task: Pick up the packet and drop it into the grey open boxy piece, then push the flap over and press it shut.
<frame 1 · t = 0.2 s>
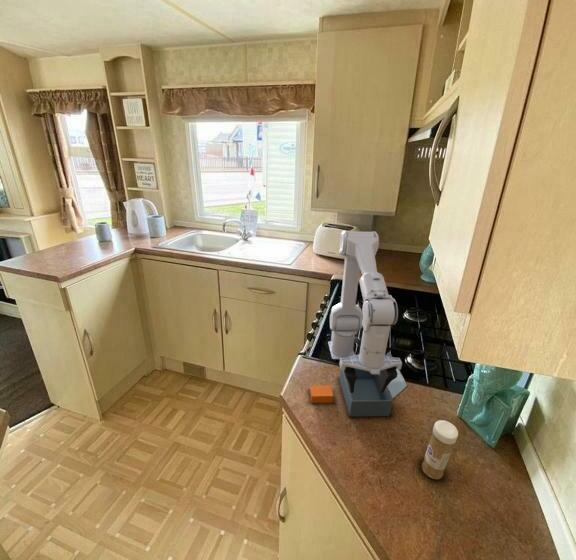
hand: (365, 389, 78), 10 cm above the worktop, tool pointing down, fingers open, 7 cm apart
sprinkles bottle: (432, 471, 70), on the worktop
packet: (321, 397, 89), on the worktop
flap: (391, 373, 86), point 8 cm above the worktop, hinge at 125.0°
grey open boxy piece: (362, 396, 90), on the worktop
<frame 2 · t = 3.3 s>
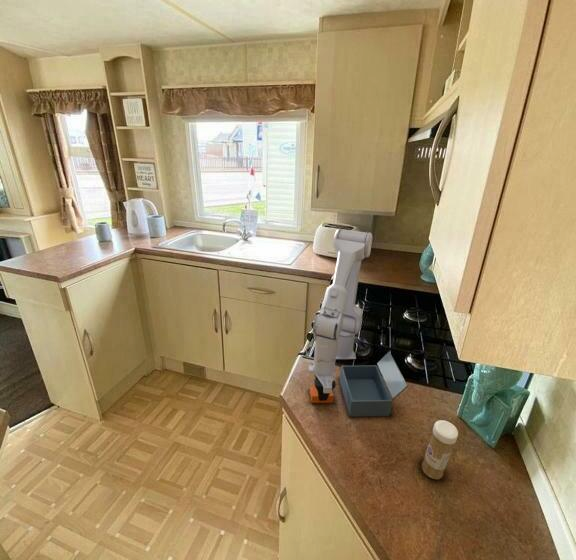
hand: (321, 393, 88), 1 cm above the worktop, tool pointing down, fingers closed on packet, 4 cm apart
packet: (321, 397, 89), on the worktop, touching gripper
everything else where it was.
when the fingers open (2 cm above the worktop, at t = 8.0 s): packet stays where it is, resting on grey open boxy piece.
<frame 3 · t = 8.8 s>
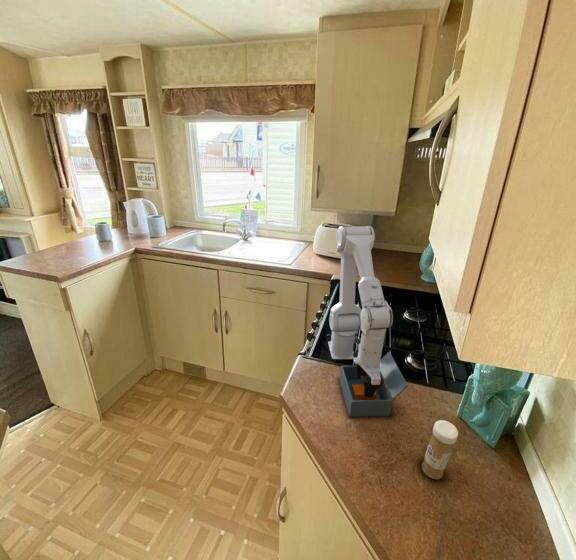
hand: (364, 385, 88), 4 cm above the worktop, tool pointing down, fingers open, 7 cm apart
packet: (363, 395, 89), resting on grey open boxy piece
everything else where it was.
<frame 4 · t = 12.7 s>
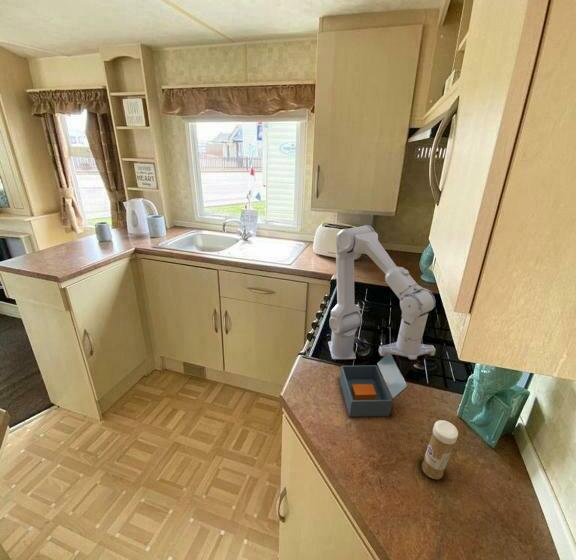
hand: (401, 374, 87), 8 cm above the worktop, tool pointing down, fingers closed
flap: (391, 374, 86), point 8 cm above the worktop, hinge at 126.0°, touching gripper
everything else where it was.
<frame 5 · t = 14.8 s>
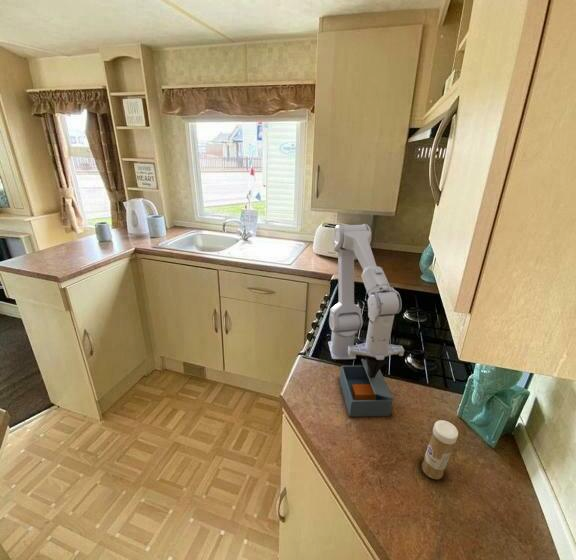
hand: (371, 375, 86), 8 cm above the worktop, tool pointing down, fingers closed
flap: (376, 377, 87), point 7 cm above the worktop, hinge at 19.7°, touching gripper
everything else where it was.
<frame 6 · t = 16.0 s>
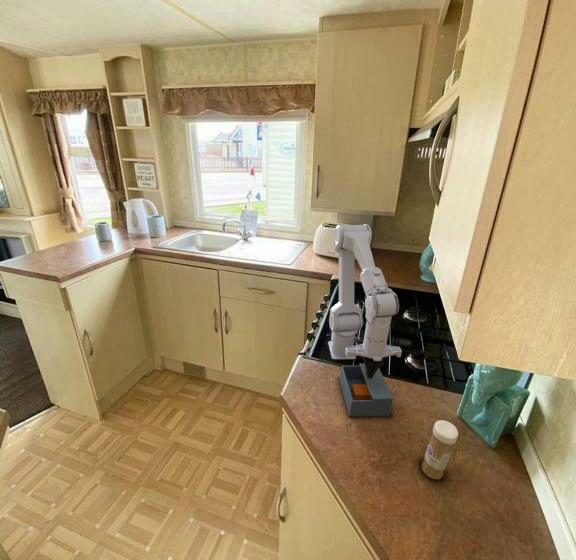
hand: (368, 375, 86), 8 cm above the worktop, tool pointing down, fingers closed
flap: (375, 380, 87), point 6 cm above the worktop, hinge at -0.6°
everything else where it was.
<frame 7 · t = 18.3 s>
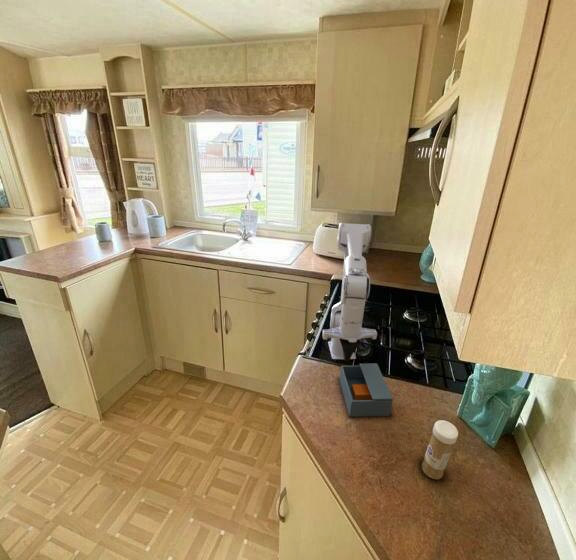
hand: (346, 358, 89), 10 cm above the worktop, tool pointing down, fingers closed
nothing on the worktop moved.
at the end: packet inside the target area in the grey open boxy piece (0.1 cm from its centre), point 0.4 cm above the grey open boxy piece's base; flap at -1° (first picture: +125°) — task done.
